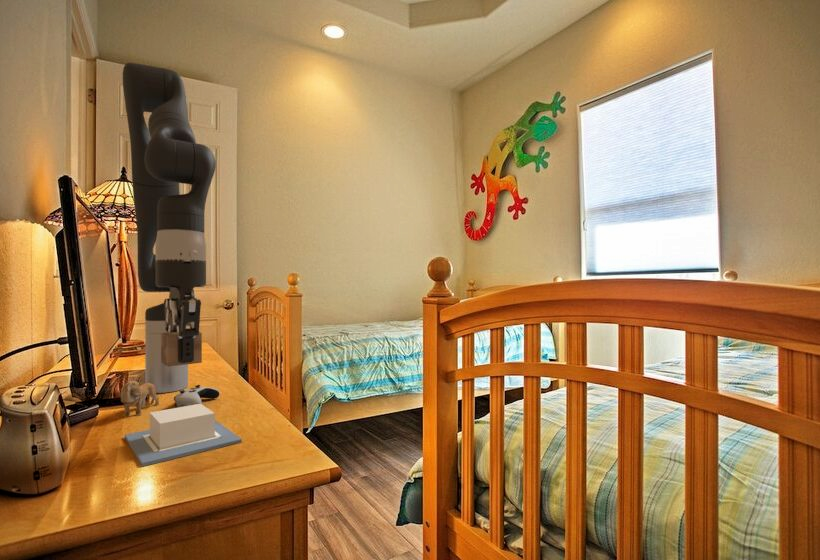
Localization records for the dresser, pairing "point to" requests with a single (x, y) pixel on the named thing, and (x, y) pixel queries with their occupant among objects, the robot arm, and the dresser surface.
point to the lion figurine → (137, 396)
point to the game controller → (195, 395)
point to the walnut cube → (171, 349)
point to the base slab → (181, 425)
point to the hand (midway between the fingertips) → (181, 359)
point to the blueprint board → (152, 454)
